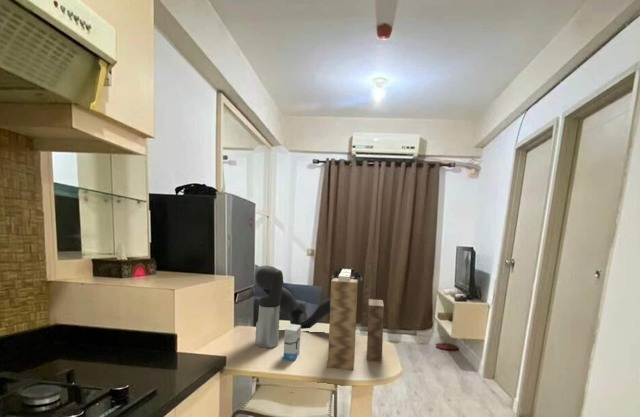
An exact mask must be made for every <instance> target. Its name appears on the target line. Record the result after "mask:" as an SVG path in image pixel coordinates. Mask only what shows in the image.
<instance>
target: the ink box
mask: <svg viewBox="0 0 640 417" xmlns="http://www.w3.org/2000/svg"><path fill="white" fill-rule="evenodd" d="M301 330H302V329H301V325H295V324H290V323H289V324H288V325H287V326H286V327H285V329H284V340H283V360H286V361H296V359H297V358H298V356H299V355H300V351H301V349H300V347H301V334H302V332H301Z"/></svg>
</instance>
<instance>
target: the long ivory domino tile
mask: <svg viewBox="0 0 640 417" xmlns="http://www.w3.org/2000/svg"><path fill="white" fill-rule="evenodd" d="M337 277H338V281H341V282H349V280H350V277H351V268H350V269H349V268H342V271H341V273H340V274H339V276H337Z"/></svg>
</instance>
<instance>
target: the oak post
mask: <svg viewBox="0 0 640 417" xmlns="http://www.w3.org/2000/svg"><path fill="white" fill-rule="evenodd" d="M330 281H331V282H330V283H331V285H330V298H331V301H330V314H329V328H328V347H327V348H328V350H327V351H328V353H327V361H326V368H330V369H331V368H332V369H342V370H350V371H353V370H354V367H355V355H356V354H355V353H356V352H355V350H356V328H357V308H358V307H357V306H358V305H357V304H358V283H359V281H358V280H356V279H350V280H349V282H341V281H338V278H333V279H332V278H331V280H330Z"/></svg>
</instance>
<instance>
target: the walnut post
mask: <svg viewBox="0 0 640 417" xmlns="http://www.w3.org/2000/svg"><path fill="white" fill-rule="evenodd" d="M384 305H385V304H384V301H383V300H382V299H371V298H368V313H367V316H368V317H367V338H366V339H367V340H366V341H367V342H366V361H370V362H371V361H373V362H381V361H382V362H383V340H384V339H383V338H384V311H385V310H384V308H385V306H384Z"/></svg>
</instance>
